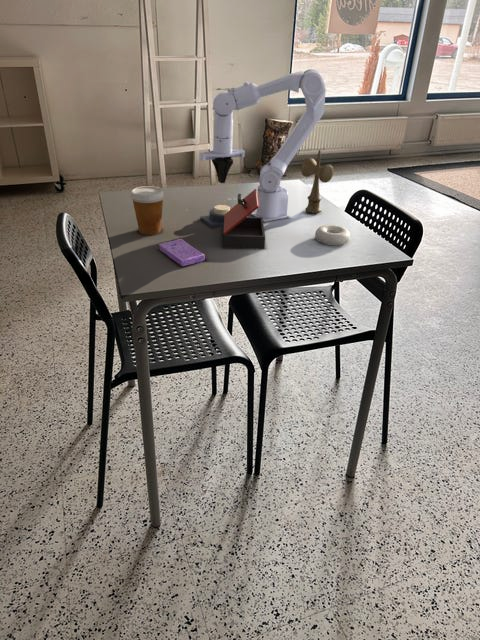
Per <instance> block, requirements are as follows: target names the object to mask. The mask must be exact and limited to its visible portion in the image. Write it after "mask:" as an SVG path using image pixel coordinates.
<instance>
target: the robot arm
mask: <svg viewBox="0 0 480 640" xmlns="http://www.w3.org/2000/svg"><path fill="white" fill-rule="evenodd" d="M285 91H292V92H295V93H299V92H300V91H301V92H302V95H303V97H304V101H305V107H306V108H305V110H304V111H303V114H302V115H301V116H300V118H299V119H298V121H297V122H296V124H295V126H294V127H293V128H292V130H291V131H290V133H289V134H288V136H287V138H286V139H285V140H284V142H283V143H282V145H281V146H280V148H279V149H278V151H277V152H276V154H275V155H274V156H273V157H272V158H271V159H270V160H269V162H268V163H266V164H264V165H262V167H261V169H260V170H259V180H258V183H259V185H258V186H257V197H258V205H259V208H257V209H256V211H254V212H253V213H251V214H250V216H252V217H263V223H265V222H266V223H267V222H271V221H276V220H282V219H287V218H289V215H288V206H289V192H288V191H287V189H286V188H285V187H283V186H280V185H281V181H282V178H283V176H284V174H285V172H286V170H287V168H288V166H289V164H290V163H291V162H292V160H293V159H294V157H295V156H296V154H297V153H298V152H299V151H300V148H301V147H302V146H303V145H304V143H305V141H306V140H307V139H308V137H309V136H310V134H311V133H312V131H313V130H314V128H316V126H317V124H319V121H320V120H321V119H322V117H323V115H324V113H325V103H326V93H327V87H326V84H325V81H324V78H323V76H322V75H321V74H320V72H319V71H318V70H316V69H312V68H310V69H309V68H308V69H307V70H304V71H301V70H300V71H296V72H291V73H289V74H286V75H284V76H281V77H278V78H275V79H272V80H269V81H266V82H264V83H262V84H256V83H254V82H249V81H245V82H243V85H241V86H238V87H235V88H231V87H229V88H227V91H221V92H219V93H218V94H217V95H216V96H215V97H214V99H213V103H212V107H213V110H214V112H213V118H214V119H213V130H212V131H213V134H212V135H213V138H212V139H213V140H212V150H208V151H205V152H199V161H201V162H205V161H209V160H210V161H211V162H212V165H213V166H214V169H215V172H216V176H217V181H218V183H220V184H225V183H226V180H227V178H228V174H229V171H230V169H231V167H232V166H233V164H234V159H233V158H245V153H246V150H244V149H233V138H234V136H233V135H234V119H233V117H234V116H233V115H234V114H233V113H234V110H235V111H239V110H243V109H245V108H249V107H251V106H255V105H257V104H259V102H260V100H261V98H264V97H268V96H271V95H275V94H277V93H281V92H285Z"/></svg>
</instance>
